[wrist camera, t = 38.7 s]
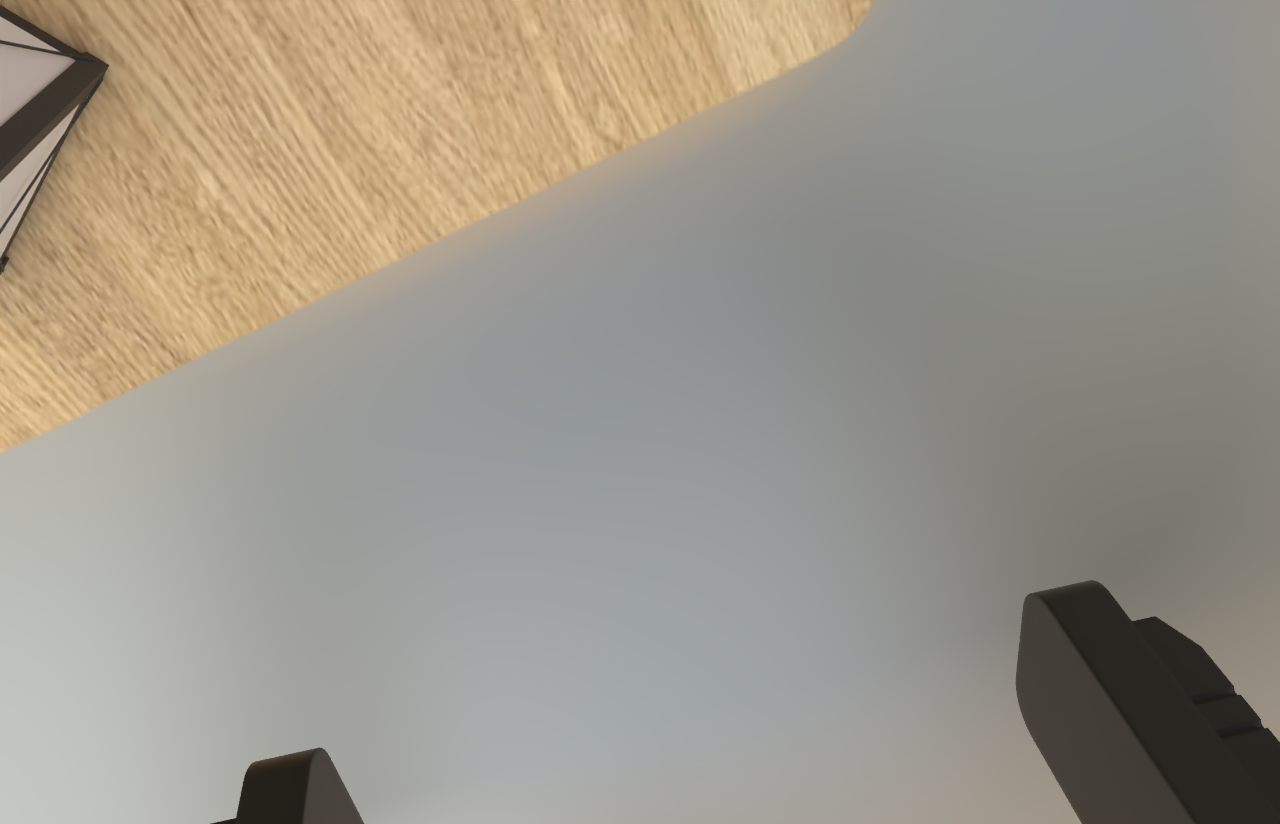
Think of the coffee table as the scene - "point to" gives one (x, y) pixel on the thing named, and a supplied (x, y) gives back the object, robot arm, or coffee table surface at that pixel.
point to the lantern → (35, 112)
